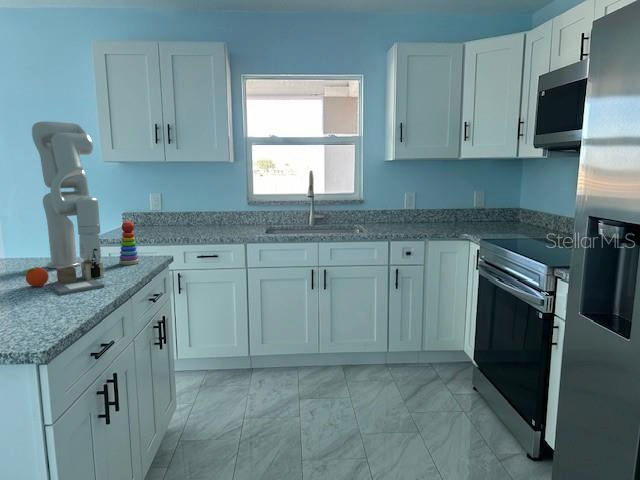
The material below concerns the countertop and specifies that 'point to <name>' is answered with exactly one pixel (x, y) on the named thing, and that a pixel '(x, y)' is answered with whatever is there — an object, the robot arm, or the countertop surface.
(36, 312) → the countertop surface
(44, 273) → the clementine
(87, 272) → the maple cube
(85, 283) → the board
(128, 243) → the stacking toy
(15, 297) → the countertop surface
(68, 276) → the walnut cube
